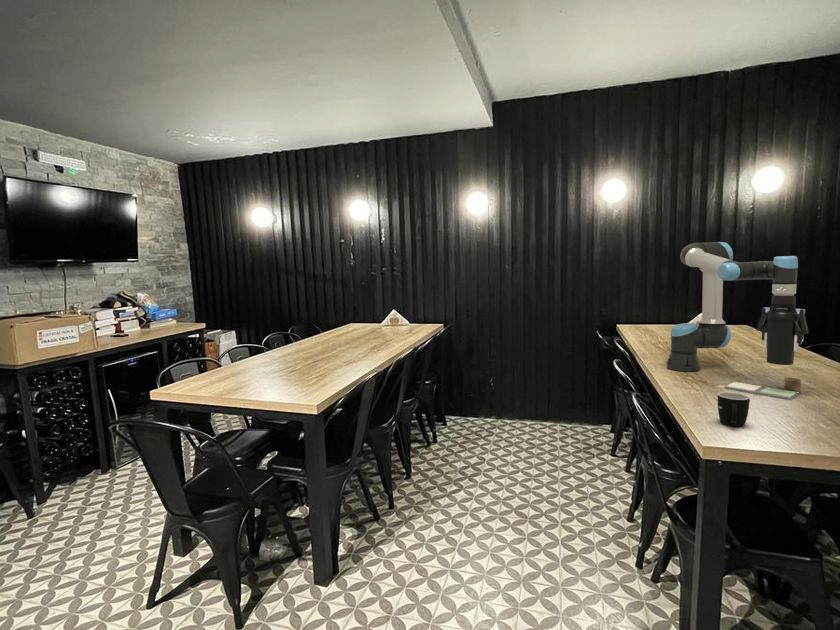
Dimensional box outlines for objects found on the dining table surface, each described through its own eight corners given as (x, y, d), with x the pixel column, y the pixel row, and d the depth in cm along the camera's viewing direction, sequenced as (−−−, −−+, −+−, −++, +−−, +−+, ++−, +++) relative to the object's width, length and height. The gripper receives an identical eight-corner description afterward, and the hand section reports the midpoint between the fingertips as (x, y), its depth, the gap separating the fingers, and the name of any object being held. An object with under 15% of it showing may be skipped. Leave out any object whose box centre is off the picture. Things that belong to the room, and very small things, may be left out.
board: (724, 388, 194) (724, 385, 193) (734, 383, 200) (734, 381, 200) (790, 400, 175) (791, 397, 175) (799, 394, 182) (799, 391, 181)
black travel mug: (796, 361, 182) (800, 306, 179) (795, 366, 174) (798, 308, 172) (765, 359, 188) (768, 305, 186) (762, 363, 181) (765, 307, 178)
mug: (716, 418, 159) (717, 390, 158) (747, 421, 154) (748, 393, 153) (717, 429, 149) (718, 400, 148) (750, 433, 144) (752, 403, 143)
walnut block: (784, 391, 187) (785, 379, 186) (784, 388, 191) (785, 377, 190) (800, 393, 184) (800, 381, 183) (799, 390, 188) (800, 378, 187)
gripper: (748, 294, 185) (745, 347, 187) (816, 296, 167) (812, 354, 170) (754, 293, 189) (752, 345, 192) (821, 294, 172) (818, 351, 174)
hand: (780, 349), depth 181 cm, fingers closed on black travel mug, 9 cm apart
